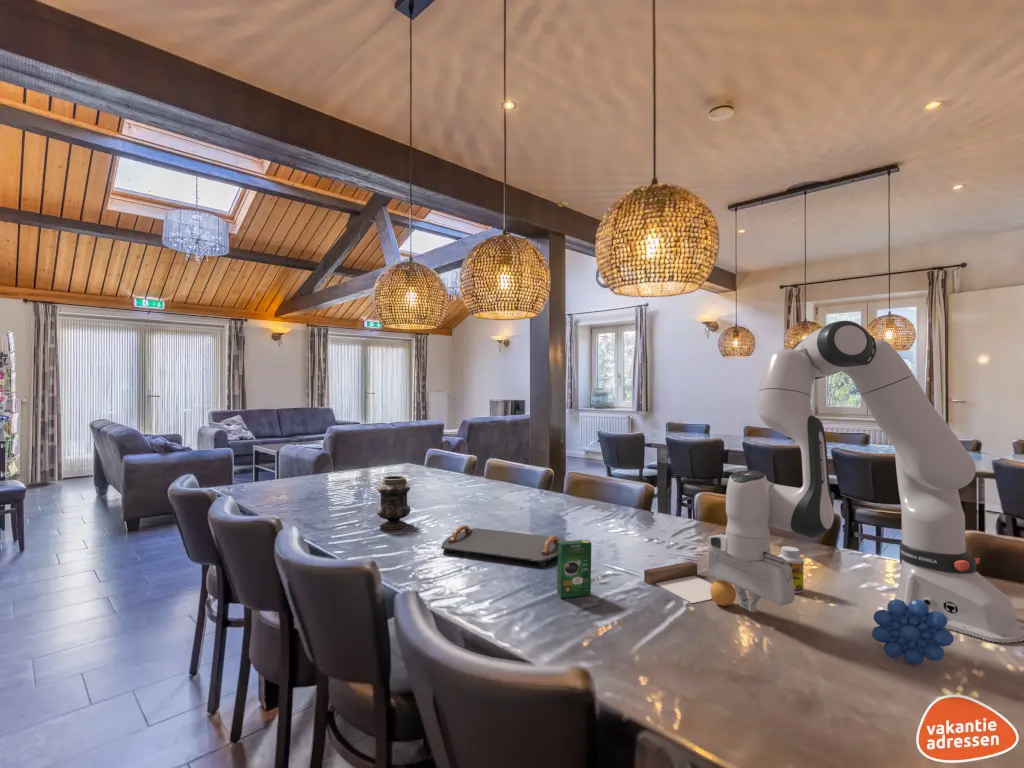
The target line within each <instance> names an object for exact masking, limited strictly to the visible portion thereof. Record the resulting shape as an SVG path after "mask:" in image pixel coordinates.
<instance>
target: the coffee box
mask: <svg viewBox="0 0 1024 768" xmlns="http://www.w3.org/2000/svg"><path fill="white" fill-rule="evenodd" d="M591 574H592V542H591V541H590V540H588V539H577V540H576V539H575V540H565V541H558V556H557V575H556V577H557V583H556V585H557V586H556V588H557V590H556V591H557V592H556V593H557V596H558V597H559V598H560V599H569V598H576V597H587V596H591V595H592V594H591V593H592V592H591V591H592V584H591V583H592V575H591Z"/></svg>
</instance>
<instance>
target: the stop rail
mask: <svg viewBox="0 0 1024 768" xmlns="http://www.w3.org/2000/svg"><path fill="white" fill-rule="evenodd" d="M690 576H698V563H696V562H694V561H687V562H682V563H675V564H671V565H665V566H664V565H663V566H659V567H654V568H649V569H644V570H643V577H644V578H643V579H644V583H647V584H648V585H652V584H653V585H654V584H655V583H660V582H665V581H670V580H675V579H680V578H685V577H690Z"/></svg>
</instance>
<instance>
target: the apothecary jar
mask: <svg viewBox="0 0 1024 768" xmlns="http://www.w3.org/2000/svg"><path fill="white" fill-rule="evenodd" d="M409 491H411V485H410V483H409V482H408V481H407V477H406V476H403V475H386V476H382V481H381V483H379V484H378V486H377V492H379V494H380V505H379V506H378V507H377V510H376V514H377V515H378V517H380V518H382V519H383V520H386V521H384V522H383V523H381V524H380V525H379V527H380V529H383V530H399V529H403V528H406V527H407V526H408V523H407V522H406V521H404V520H401V519H403V518H406V517H407V516H408V515H410V512H411V507H410V506H409V505H408V493H409Z"/></svg>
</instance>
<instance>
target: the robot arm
mask: <svg viewBox="0 0 1024 768" xmlns="http://www.w3.org/2000/svg"><path fill="white" fill-rule="evenodd" d="M841 372H842V373H843V374H845V375H847V376H848V377H849V378H850V379H851V380H852V381H853V383H854V385H855V387H856V389H857V391H858V392H859V393H858V394H859V395H860V396H861V398H862V400H863V401H864V403H865V404H866V407H867V408H868V411H869V412H870V413H871V416H872V417H873V418H874V421H875V422H876V424H877V426H878V427H879V428H880V429H881V431H882V432H883V434H884V435H885V436H886V438H887V439H888V441H889V442H890V444H891V445H892V446H893V448H894V450H895V451H894V452H895V453H894V458H895V467H896V468H895V469H896V478H897V480H896V481H897V488H898V495H899V501H900V510H901V512H900V513H901V541H900V542H899V562H900V574H899V581H898V586H897V589H896V594H895V596H894V598H893V600H895V599H898V600H901V601H904V602H905V604H906V605H907V606H908V604H909V603H910V602H911V601H914V600H917V599H918V600H921V601H924V602H925V603H926V604H927V605H928V606H929V612H932V611H938V612H941V613H943V614H944V615H945V616H946V618H947V625H946V626H945V627H944V628H943V629H946V630H951V631H955V632H957V631H958V633H961V632H962V633H961V634H964V633H965V635H967V634H969V635H968V636H970V635H972V636H971V637H974V636H976V637H975V638H977V637H979V638H978V639H980V638H982V639H981V640H984V639H985V640H984V641H987V640H988V641H987V642H990V641H992V642H991V643H994V642H999V643H998V644H1005V643H1004V642H1016V641H1020V640H1023V639H1024V622H1022V621H1020V620H1019V621H1018V620H1017V616H1016V611H1015V608H1014V604H1013V602H1012V600H1011V599H1010V598H1009V596H1008V595H1006V594H1005V593H1004V592H1002V591H1001V590H1000V589H998V588H997V587H996V586H995V585H993V584H992V583H991V582H990V581H989V580H988V579H986V578H985V577H984V576H982V574H980V573H979V572H978V571H977V564H980V563H981V562H980V561H981V560H980V559H981V558H980V557H975V558H974V557H972V555H970V554H969V552H968V551H967V550H966V515H965V512H964V510H963V506H962V503H961V498H960V493H959V490H960V489H962V488H964V487H966V486H968V485H969V484H970V483H971V482H972V481H973V479H974V478H975V475H976V472H977V468H976V462H975V460H974V459H973V457H972V456H971V454H970V453H969V452H968V451H967V450H966V448H965V447H964V445H963V444H962V442H961V441H960V439H959V438H958V437H957V435H956V434H955V432H954V431H953V430H952V428H951V427H950V426H949V424H948V423H947V422H946V420H944V418H943V417H942V416H941V415H940V414H939V412H938V410H936V408H935V406H934V405H933V404H932V403H931V400H929V398H928V396H927V395H926V393H925V391H924V390H923V388H922V387H921V384H920V383H919V381H918V380H917V378H916V376H915V375H914V373H913V371H912V369H911V368H910V367H909V366H908V364H907V362H906V361H905V360H904V359H903V358H902V357H901V355H900V354H899V352H898V351H897V350H896V349H895V348H894V347H893V346H892V345H891V344H890V343H889V342H887V341H886V340H882V339H879V338H877V339H875V338H874V336H872V335H871V334H870V332H868V330H867V329H866V328H864V327H863V326H862V325H860V324H859V323H857V322H855V321H852V320H838V321H834V322H831V323H829V324H827V325H825V326H823V327H820V328H818V329H816V330H814V331H813V332H810V334H808V335H807V336H806V337H805V338H804V339H801V340H800V341H798V342H797V343H795V345H794V346H793V347H792V348H791V349H790V348H784V349H779V350H776V351H774V352H773V353H771V355H769V356H768V358H767V360H766V363H765V366H764V368H763V371H762V375H761V379H760V384H759V388H758V394H757V403H756V408H757V409H756V410H757V415H758V416H759V418H760V420H761V421H762V422H763V423H764V424H765V425H766V426H767V427H768V428H770V429H771V430H773V431H776V432H777V433H780V434H782V435H784V436H786V437H787V438H789V439H792V440H793V441H794V442H795V443H797V445H798V447H799V449H800V453H801V468H802V469H801V470H802V486H801V487H796V486H789V485H783V484H778V483H773V482H771V481H769V480H768V479H767V476H766V474H765V473H763V472H761V471H757V470H751V469H750V470H739V471H735V472H734V473H732V474H730V475H729V478H728V480H727V485H726V491H725V492H726V493H725V514H726V517H727V523H726V526H725V532H723V533H719V534H714V535H711V536H710V535H709V536H708V537H707V543H708V546H709V547H708V548H707V551H706V552H707V553H706V554H707V556H706V569H707V571H708V573H709V574H710V576H712V577H715V578H716V579H719V580H724V581H726V582H728V583H730V584H731V585H732V586H734V589H735V592H736V596H737V597H738V599H739V607H740V608H742V609H745V610H747V611H749V612H751V613H754V612H756V611H757V604H758V602H759V601H760V599H761V598H763V599H765V600H768V601H769V602H771V603H772V602H773V603H774V604H777V605H779V606H787V605H789V604H793V602H794V601H795V599H796V597H795V595H796V593H794V584H793V578H792V568H791V566H790V565H789V564H788V563H787V562H786V560H785V559H784V558H782V557H778V555H774V554H772V553H771V531H770V529H769V527H772V528H775V529H779V530H780V529H781V530H784V531H789V532H793V533H795V534H798V535H801V536H804V537H807V538H811V539H815V538H818V537H820V536H822V535H824V534H826V533H827V532H828V531H829V530H831V529H832V528H833V525H834V522H835V510H834V509H835V508H834V504H833V500H832V499H833V498H832V495H831V489H830V475H829V474H830V473H829V462H828V461H829V459H828V458H829V457H828V449H827V447H828V446H827V438H826V431H825V428H824V424H823V422H822V420H821V419H819V418H818V417H816V416H815V415H814V413H813V409H812V402H811V400H812V392H813V384H814V381H815V380H819V379H823V378H825V377H829V376H832V375H836V374H839V373H841ZM784 563H786V564H784ZM746 591H747V592H748V595H747V592H746ZM748 596H749V597H750V599H749V598H748ZM929 612H928V613H929ZM1023 641H1024V640H1023ZM1000 642H1001V643H1000ZM1020 642H1021V641H1020ZM1016 643H1017V642H1016Z"/></svg>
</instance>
